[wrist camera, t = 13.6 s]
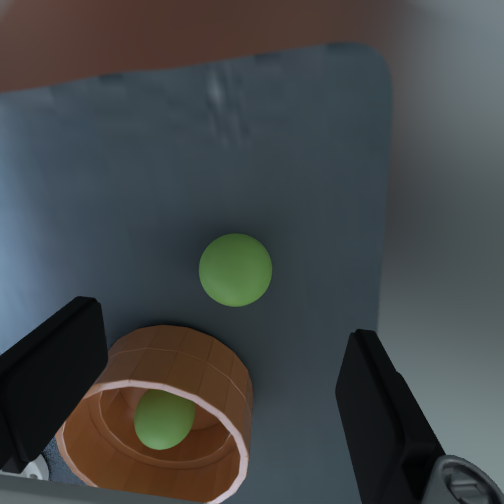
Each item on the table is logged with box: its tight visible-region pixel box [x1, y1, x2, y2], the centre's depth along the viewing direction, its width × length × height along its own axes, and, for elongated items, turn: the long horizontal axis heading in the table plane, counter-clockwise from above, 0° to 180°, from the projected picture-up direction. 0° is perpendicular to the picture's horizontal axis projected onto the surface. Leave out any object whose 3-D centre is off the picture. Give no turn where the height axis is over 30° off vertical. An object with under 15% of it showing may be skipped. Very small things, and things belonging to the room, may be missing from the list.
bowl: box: [55, 325, 254, 504], centre depth 21 cm, size 13×13×6 cm
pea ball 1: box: [134, 389, 196, 450], centre depth 21 cm, size 5×5×5 cm
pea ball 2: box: [199, 233, 272, 307], centre depth 17 cm, size 5×5×5 cm
